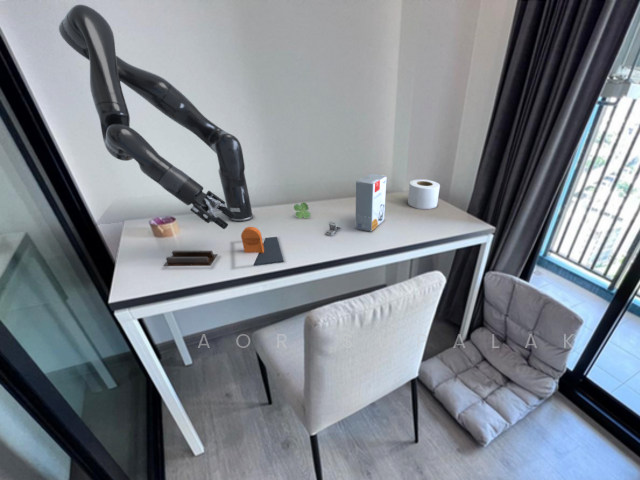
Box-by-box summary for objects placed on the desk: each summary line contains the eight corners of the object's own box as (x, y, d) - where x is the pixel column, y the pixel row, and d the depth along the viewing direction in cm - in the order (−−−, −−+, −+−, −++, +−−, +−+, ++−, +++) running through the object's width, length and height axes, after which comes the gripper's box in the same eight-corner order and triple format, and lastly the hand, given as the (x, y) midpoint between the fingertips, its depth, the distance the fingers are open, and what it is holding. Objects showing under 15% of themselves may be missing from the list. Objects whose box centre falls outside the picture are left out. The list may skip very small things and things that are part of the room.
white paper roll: (422, 211, 162) (425, 189, 156) (401, 202, 171) (403, 181, 165) (442, 205, 171) (446, 185, 165) (422, 197, 180) (424, 177, 174)
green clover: (304, 225, 150) (304, 222, 143) (290, 213, 147) (289, 210, 141) (314, 213, 151) (315, 210, 144) (300, 201, 148) (300, 198, 142)
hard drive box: (371, 232, 136) (372, 184, 125) (355, 229, 138) (354, 181, 127) (384, 220, 149) (386, 175, 137) (369, 217, 150) (370, 172, 139)
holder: (163, 268, 102) (160, 260, 101) (174, 256, 109) (171, 248, 107) (211, 268, 104) (208, 260, 103) (218, 256, 111) (216, 248, 109)
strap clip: (331, 236, 131) (331, 226, 128) (324, 235, 131) (324, 225, 129) (340, 228, 137) (340, 219, 135) (333, 227, 138) (333, 218, 135)
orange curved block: (244, 253, 113) (239, 229, 108) (246, 250, 115) (241, 226, 110) (262, 253, 114) (258, 229, 109) (264, 250, 116) (259, 226, 110)
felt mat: (231, 242, 120) (231, 241, 120) (277, 238, 126) (276, 236, 125) (232, 268, 105) (232, 266, 105) (283, 261, 111) (283, 260, 111)
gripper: (183, 187, 105) (229, 221, 114) (164, 202, 94) (217, 238, 102) (196, 171, 103) (242, 206, 112) (178, 184, 92) (231, 222, 100)
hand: (230, 221), depth 107 cm, fingers open, 8 cm apart
